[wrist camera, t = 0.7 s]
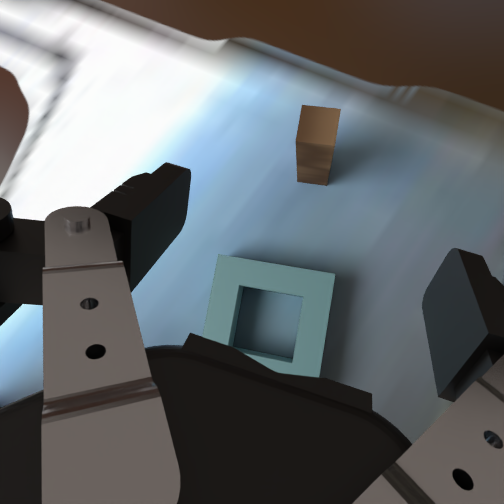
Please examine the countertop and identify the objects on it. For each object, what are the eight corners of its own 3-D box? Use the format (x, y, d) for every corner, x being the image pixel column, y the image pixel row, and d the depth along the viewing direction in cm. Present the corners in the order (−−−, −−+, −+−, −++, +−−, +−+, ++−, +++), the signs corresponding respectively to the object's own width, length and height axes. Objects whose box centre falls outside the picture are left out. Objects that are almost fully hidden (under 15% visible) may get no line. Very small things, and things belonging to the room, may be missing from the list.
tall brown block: (331, 157, 40) (340, 109, 30) (326, 185, 40) (334, 145, 30) (302, 153, 40) (302, 104, 31) (297, 181, 40) (295, 141, 30)
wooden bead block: (332, 276, 38) (335, 274, 35) (314, 390, 37) (315, 398, 34) (224, 258, 40) (218, 254, 37) (203, 366, 39) (195, 371, 36)
